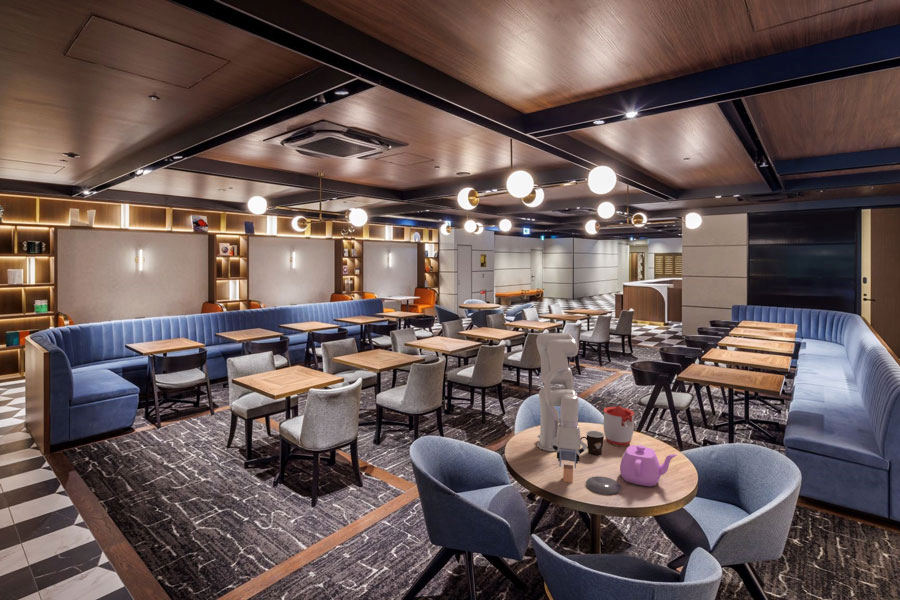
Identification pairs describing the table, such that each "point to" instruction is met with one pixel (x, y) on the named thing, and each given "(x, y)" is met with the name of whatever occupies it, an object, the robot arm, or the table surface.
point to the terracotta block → (568, 473)
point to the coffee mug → (594, 442)
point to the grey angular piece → (567, 455)
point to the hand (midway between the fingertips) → (567, 460)
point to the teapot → (642, 465)
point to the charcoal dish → (603, 485)
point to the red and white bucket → (618, 425)
